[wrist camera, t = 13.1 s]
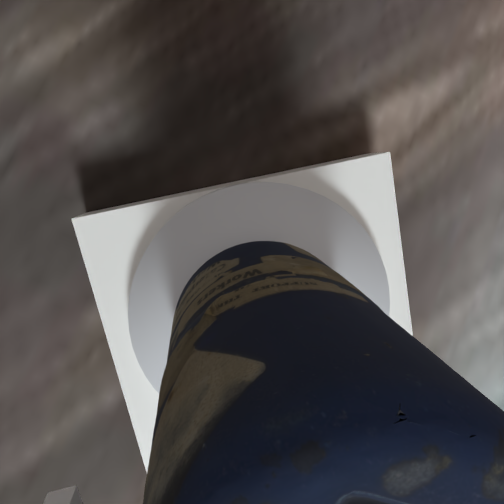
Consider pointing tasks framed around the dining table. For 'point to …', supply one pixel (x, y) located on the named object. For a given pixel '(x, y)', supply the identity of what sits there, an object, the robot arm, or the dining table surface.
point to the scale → (228, 235)
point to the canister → (310, 396)
